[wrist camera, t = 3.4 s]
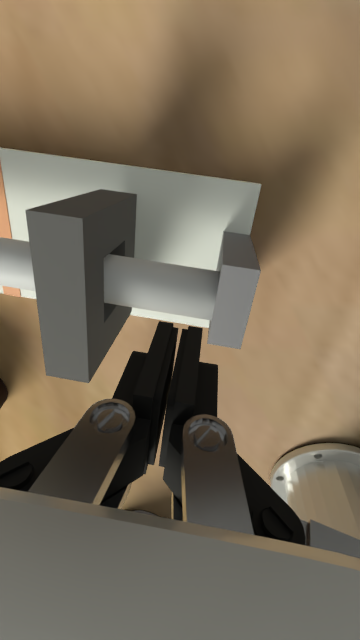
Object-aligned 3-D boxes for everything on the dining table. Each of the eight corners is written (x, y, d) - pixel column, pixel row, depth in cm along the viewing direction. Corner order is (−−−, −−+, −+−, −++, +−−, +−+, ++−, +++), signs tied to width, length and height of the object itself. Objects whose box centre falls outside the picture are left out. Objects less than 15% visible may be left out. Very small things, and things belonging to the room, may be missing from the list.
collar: (136, 194, 21) (82, 218, 13) (131, 311, 25) (88, 383, 17) (101, 189, 21) (25, 210, 13) (102, 306, 25) (46, 375, 17)
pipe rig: (260, 183, 22) (279, 199, 14) (228, 325, 28) (228, 394, 20) (-126, 129, 24) (-303, 117, 16) (-80, 274, 30) (-192, 318, 22)
